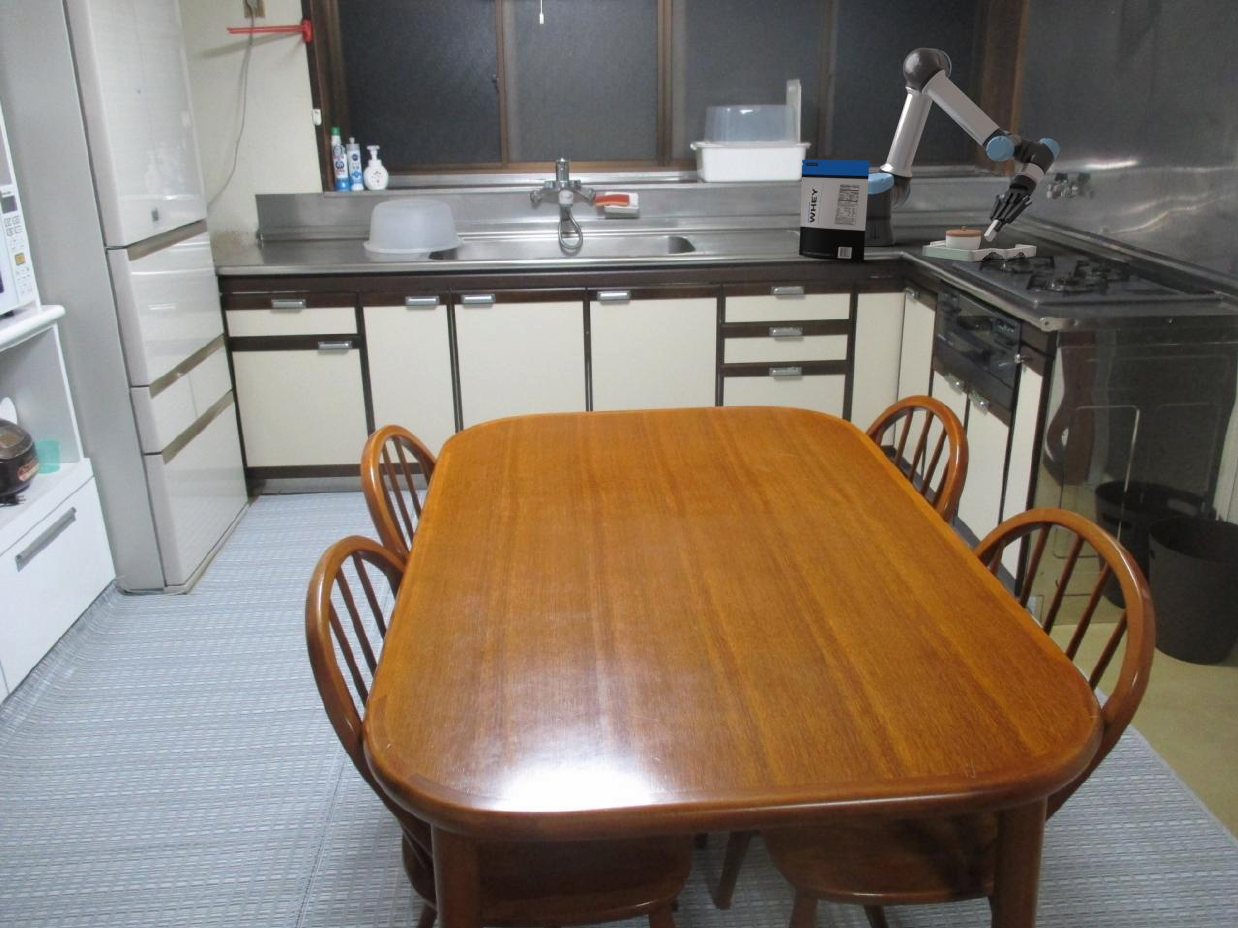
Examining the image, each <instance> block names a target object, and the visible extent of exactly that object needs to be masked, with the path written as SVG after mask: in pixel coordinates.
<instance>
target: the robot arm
mask: <svg viewBox="0 0 1238 928" xmlns="http://www.w3.org/2000/svg"><path fill="white" fill-rule="evenodd" d="M902 72H903V76H904V78H905V80H906V83H905V89H906V91H907V97H906V99H905V102H904V105H903V109H902V112H901V115H900V118H899V121H898V124H897V127H896V131H895V134H894V137H893V139H892V143H891V146H890V149H889V152H888V156H887V158H886V162H885V163H884V164H883V165H881V166H880V167H879V170H878V172H875V173H869V178H868V196H867V210H866V224H865V246H864V247H887V246H893V245H896V244H895V243H896V236H895V234H894V227H893V224H892V212H893V210H896V209H899V208H901V207H902V206H904V205H905V204H906V203H907V201H908V200H909V199H910V196H911V193H912V185H911V182H912V179H913V173H912V171H911V167H912V165H913V161H914V159H915V155H916V151H917V149H918V146H919V144H920V140H921V137H922V134H923V131H924V128H925V125H926V122H927V119H928V116H929V112H930V110H931V107H932V103H933V102H935V104H936V105H938V106H939V107H940V108H941V109H942V110H943V111H944V112H945V113H946V114H948V116H950V118H951V119H952V120H954V121H955V123H957V124H958V125H959V126H960V127H961V128H962V129H963V130H964V131H965V132H966V133H968V135H969V136H970V137H972V138H973V140H975V141H976V142H977V143H978V144H979V145H980V146H981V147H982V148H983V149H984V150H985V152H986V155H987V156H988V158H989V159H990V160H991V161H995V162H1005V161H1008V160H1012V161H1015V162H1017V163H1019V164H1021V165H1022V166H1021V167H1020V169H1019V170H1018V172H1017V173H1016V175H1015V176H1014V177H1013V179H1012V181H1011V182H1010V183H1009V188H1008V190H1007V191H1005V192H1004V194H1002V195H1000V194H996V195H995V201H994V204H993V206H992V208H991V211H990V213H989V216H988V218H989V220H990V221H991V222H990V224H989V225H988V226H987V230H986V232H985V233H984V234H983V237H984V238H985V240H986V241H987V242H992V241H993V239H995V237H996V235H997V234H998V233H999V232H1000V231H1001V229H1003V227H1004V226H1005V225H1006V224H1008V225H1012V223H1013V222H1014V221H1015V220H1016V219H1017V218H1018V217H1019V216H1020V215H1021V214H1022V213H1023V212H1024V211H1025V209H1027V207H1029V206H1031V205H1032V204H1033V200H1032V199H1031V197H1032V194H1033V193H1034V192H1035V190H1036V188H1037V187H1038V185H1040V182H1041V181H1042V180H1043V178H1044V177H1045V175H1046V173H1047V172H1048V171H1049V170H1050V168H1051V167H1052V165H1053V163H1055V161H1056V159H1057V156H1058V155H1059V153H1060V151H1061V149H1060V145H1059V144H1058V143H1057V141H1056V140H1054V139H1052V138H1046V137H1044V138H1041V139H1039V141H1038V142H1037V141H1034V140H1030V139H1028V138H1025V137H1022V136H1021V135H1018V134H1016V133H1014V132H1010V131H1007V130H1003V129H1002V128H1001V127H1000V126H999V125H998V124H997V123H996V122H994V121H993V120H992V119H991V118H990V117H989V116H988V115H987V114H986V113H985V112H984V110H982V109H981V108H979V106H977V105H976V103H974V102H973V100H971V99H970V97H968V96H967V95H966V94H965V93H964V92H963V91H962V90H961V89H960V88H959V87H957V85H955V84H954V83H953V82H952V80H951V79H949V77H950V76H951V72H952V60H951V59H950V57H949V55H948V54H947V53H946V52H945V51H943V50H941V49H938V48H932V47H931V48H930V47H929V48H927V47H919V48H916V49H914V50H912V51H911V52H909V54H908V55H907V56H906V57H905V59H904V62H903V65H902Z"/></svg>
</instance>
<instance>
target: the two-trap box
mask: <svg viewBox="0 0 1238 928" xmlns="http://www.w3.org/2000/svg"><path fill="white" fill-rule="evenodd" d="M991 252H996V253H997V254H999V255H1001V256H1003V258H1005V259H1006V258H1009V257H1013V256H1016V255H1017V254H1018V253H1019V252H1023V253H1024V255H1025V256H1026V257H1025V258H1031V257H1036V254H1037V246H1036V245H1030V244H1029V245H1028V244H1020V243H1019V244H1015V247H1014V248H1006V249H1002V248H994V247H993V248H992V247H990V248H989V247H988V248H982V249H978V250H974V251H968V250H959V249H950V248H947V247H946V239H945V240H938V241H937V240H936V241H931V242H930V244H929V245H922V254H921V256H923V257H929V258H930V257H931V258H937V259H945V260H946V259H947V260H954V261H962V262H971V263H972V262H979V261H983V260H982V259H983V258H984V257H985V256H986V255H988V254H989V253H991Z"/></svg>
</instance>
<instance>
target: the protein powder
mask: <svg viewBox="0 0 1238 928" xmlns="http://www.w3.org/2000/svg"><path fill="white" fill-rule="evenodd" d="M801 163H802V165H801V185H800V186H801V187H800V188H801V191H800V225H799V226H800V228H799V248H798V255H799V256H803V257H804V258H805V257H806V258H810V259H817V260H823V261H825V260H826V261H827V260H828V261H848V262H849V261H852V262H853V261H857V262H858V261H861V262H862V261H863V262H864V260H865V247H866V246H865V224H866V210H867V196H868V178H869V174H870V166H869V165H870V160H847V159H845V160H844V159H843V160H841V159H840V160H839V159H836V160H835V159H802V160H801Z"/></svg>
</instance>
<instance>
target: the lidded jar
mask: <svg viewBox="0 0 1238 928" xmlns="http://www.w3.org/2000/svg"><path fill="white" fill-rule="evenodd" d="M982 234H983V233H982V231H981V230H977V229H967V226H966V225H963V226H962V229H950V230H946V232H945V240H946V247H947V248H950V249H959V250H968V251H974V250H979V248H980V246H981V245H980V244H981V239H982Z"/></svg>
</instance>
